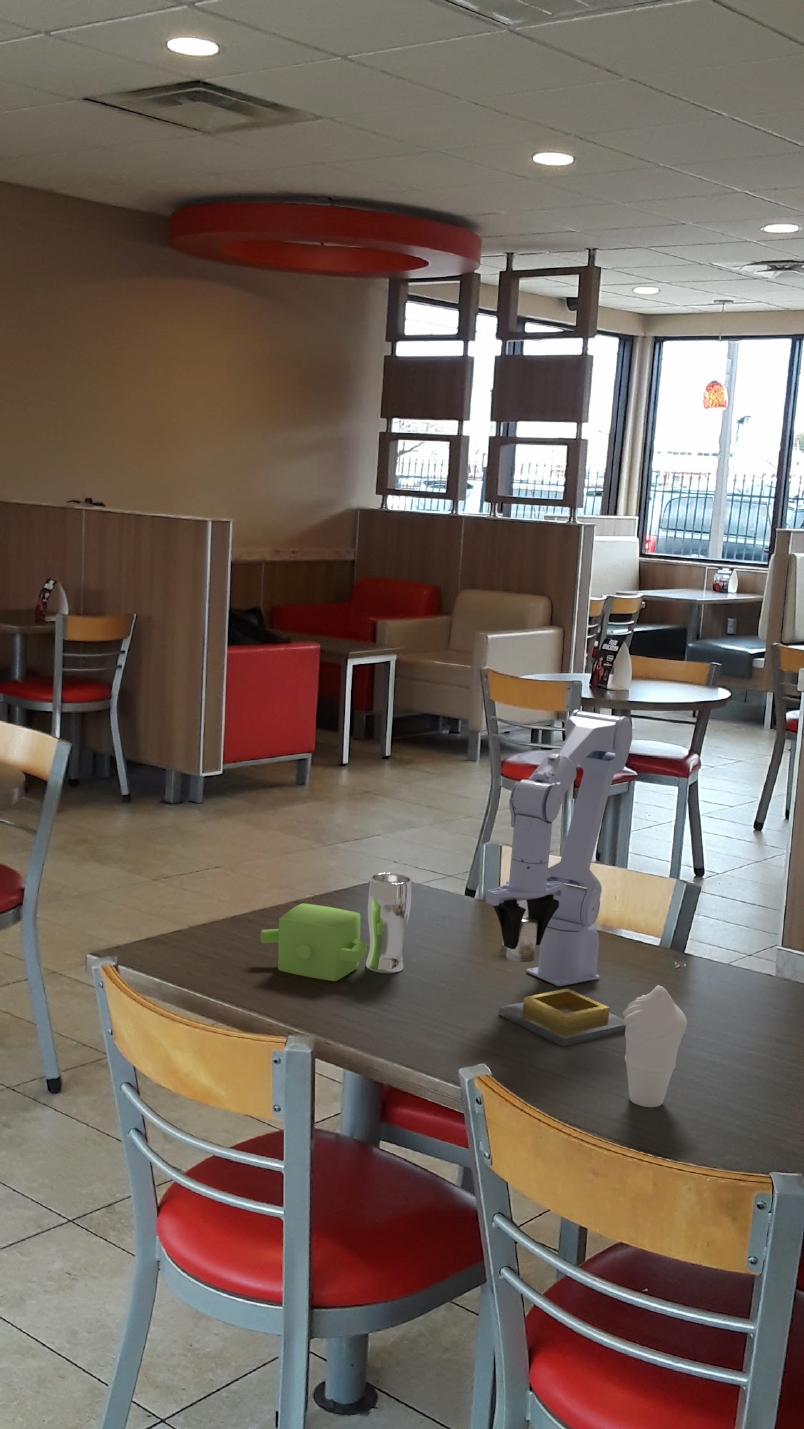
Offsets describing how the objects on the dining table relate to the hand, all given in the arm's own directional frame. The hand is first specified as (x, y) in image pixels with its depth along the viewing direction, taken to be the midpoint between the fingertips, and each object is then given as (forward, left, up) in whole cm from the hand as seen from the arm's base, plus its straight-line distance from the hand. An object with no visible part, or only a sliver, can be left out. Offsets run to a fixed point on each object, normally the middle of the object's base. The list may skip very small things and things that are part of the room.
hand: (522, 945), depth 218 cm
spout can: (0, 0, -2) cm, 2 cm away
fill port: (-1, +9, -9) cm, 13 cm away
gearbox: (+20, -27, -10) cm, 35 cm away
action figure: (-20, -24, -10) cm, 33 cm away
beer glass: (+9, -23, -10) cm, 26 cm away
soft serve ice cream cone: (+9, +35, -10) cm, 38 cm away
